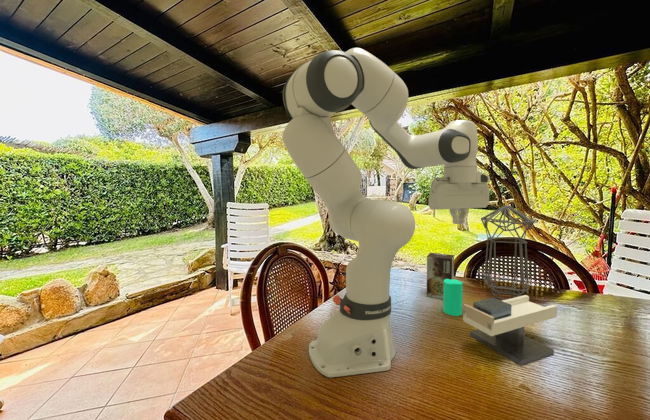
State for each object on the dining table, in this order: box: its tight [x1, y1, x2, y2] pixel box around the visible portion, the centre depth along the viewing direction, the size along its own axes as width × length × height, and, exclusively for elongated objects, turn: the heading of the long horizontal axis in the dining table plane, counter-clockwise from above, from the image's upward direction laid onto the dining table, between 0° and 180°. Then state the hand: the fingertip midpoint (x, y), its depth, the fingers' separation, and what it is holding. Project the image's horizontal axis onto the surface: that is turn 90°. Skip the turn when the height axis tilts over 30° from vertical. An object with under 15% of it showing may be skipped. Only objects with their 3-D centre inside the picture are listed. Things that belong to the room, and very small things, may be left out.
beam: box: [462, 294, 558, 336], centre depth 70 cm, size 24×8×4 cm, turn 110°
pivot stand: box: [469, 327, 555, 367], centre depth 71 cm, size 12×14×6 cm
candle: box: [442, 276, 464, 317], centre depth 90 cm, size 6×6×12 cm
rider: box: [472, 297, 512, 320], centre depth 68 cm, size 7×5×4 cm
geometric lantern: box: [480, 205, 538, 300], centre depth 102 cm, size 16×16×35 cm
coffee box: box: [426, 252, 455, 300], centre depth 103 cm, size 9×6×16 cm
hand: (458, 223), depth 80 cm, fingers closed
